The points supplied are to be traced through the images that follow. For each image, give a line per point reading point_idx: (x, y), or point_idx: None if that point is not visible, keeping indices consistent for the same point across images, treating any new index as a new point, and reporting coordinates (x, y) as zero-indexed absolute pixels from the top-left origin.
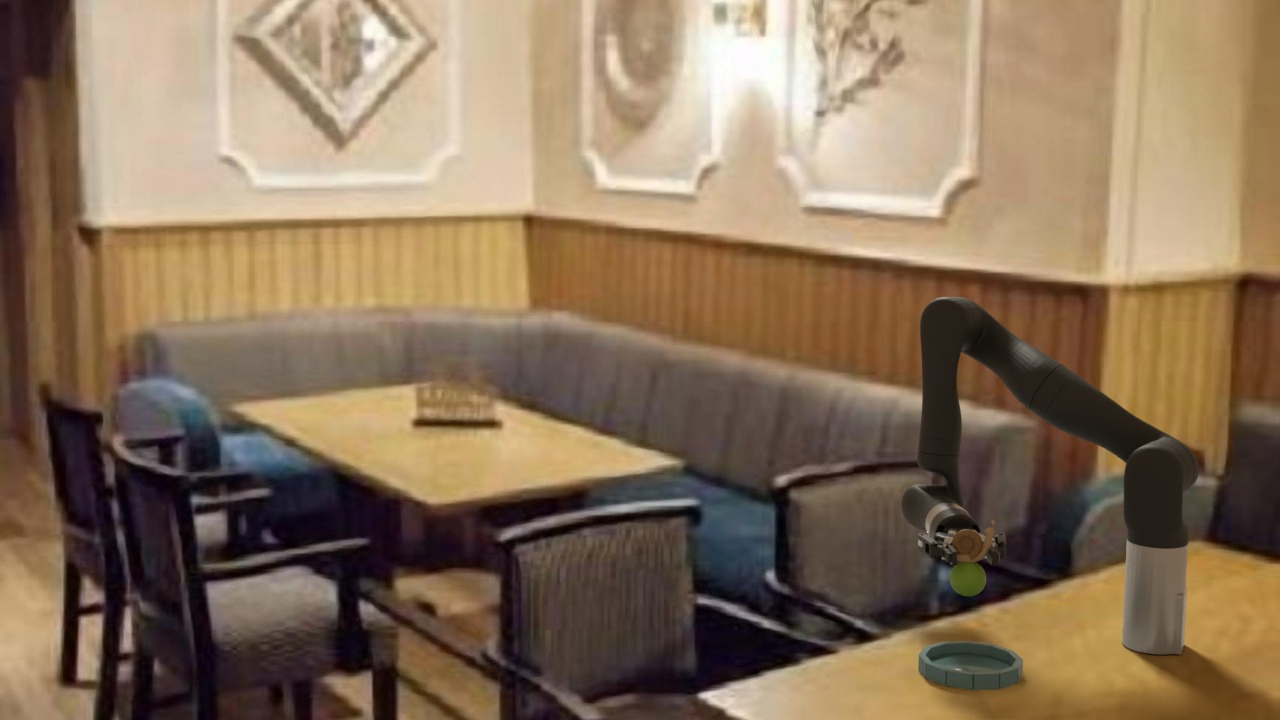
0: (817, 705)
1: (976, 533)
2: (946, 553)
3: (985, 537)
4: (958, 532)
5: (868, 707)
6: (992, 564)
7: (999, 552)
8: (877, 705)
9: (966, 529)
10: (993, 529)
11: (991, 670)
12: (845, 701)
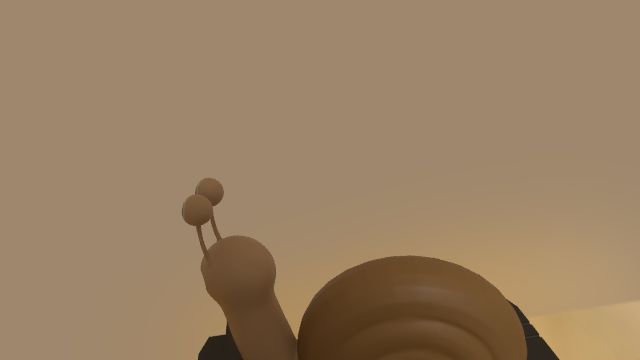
0: (629, 317)
1: (341, 273)
2: (515, 308)
3: (276, 299)
4: (483, 278)
5: (539, 323)
6: None
7: (199, 356)
8: None
9: (422, 261)
10: (210, 247)
11: None
12: (594, 340)
